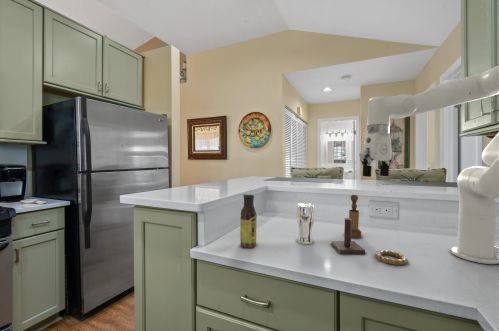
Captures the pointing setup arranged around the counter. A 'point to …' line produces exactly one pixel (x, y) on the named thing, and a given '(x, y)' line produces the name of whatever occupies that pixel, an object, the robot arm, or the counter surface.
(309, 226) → the beer glass
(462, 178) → the robot arm
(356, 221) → the brown knobbed post
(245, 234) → the sauce bottle
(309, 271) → the counter surface
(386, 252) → the ring
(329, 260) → the counter surface
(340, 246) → the peg stand
